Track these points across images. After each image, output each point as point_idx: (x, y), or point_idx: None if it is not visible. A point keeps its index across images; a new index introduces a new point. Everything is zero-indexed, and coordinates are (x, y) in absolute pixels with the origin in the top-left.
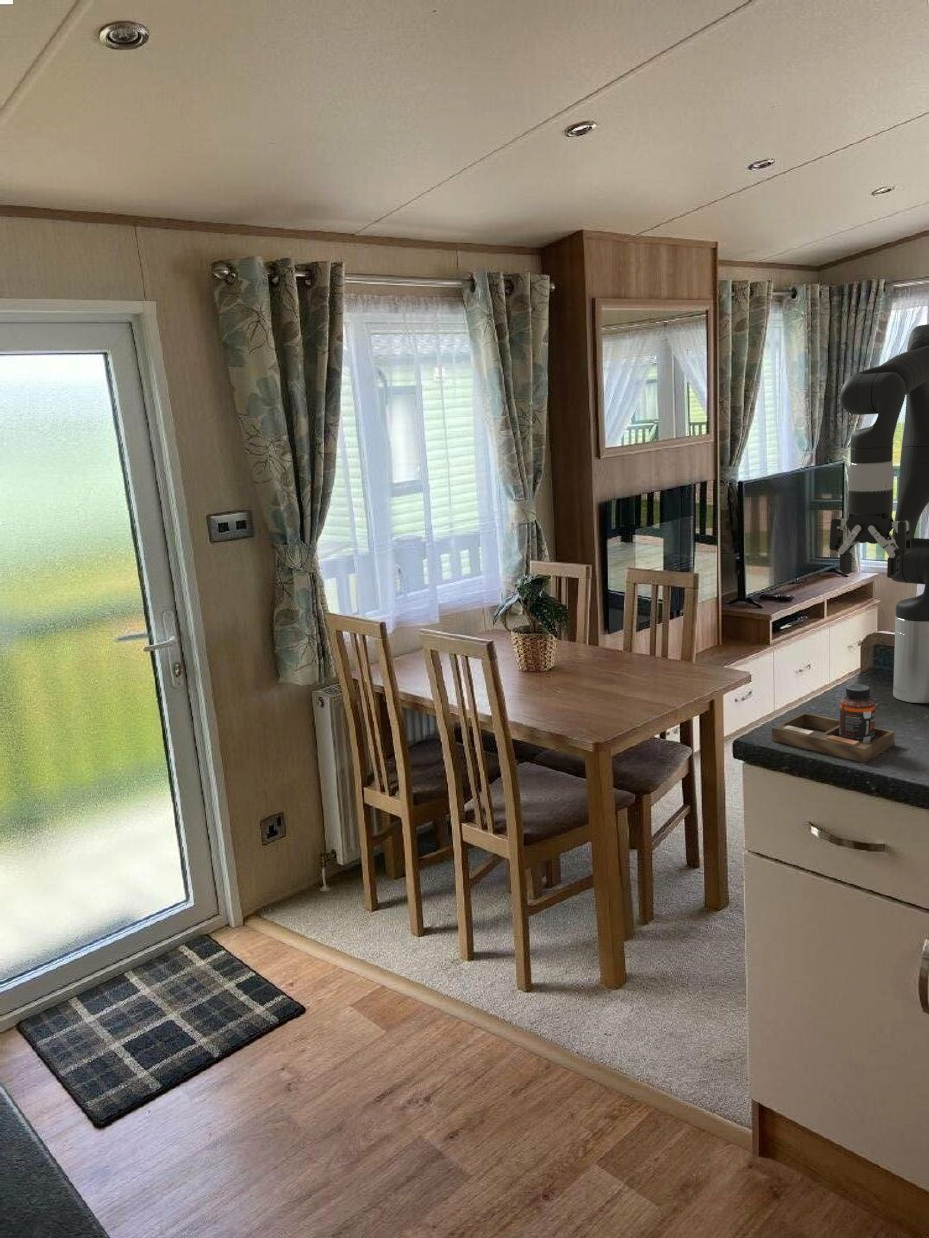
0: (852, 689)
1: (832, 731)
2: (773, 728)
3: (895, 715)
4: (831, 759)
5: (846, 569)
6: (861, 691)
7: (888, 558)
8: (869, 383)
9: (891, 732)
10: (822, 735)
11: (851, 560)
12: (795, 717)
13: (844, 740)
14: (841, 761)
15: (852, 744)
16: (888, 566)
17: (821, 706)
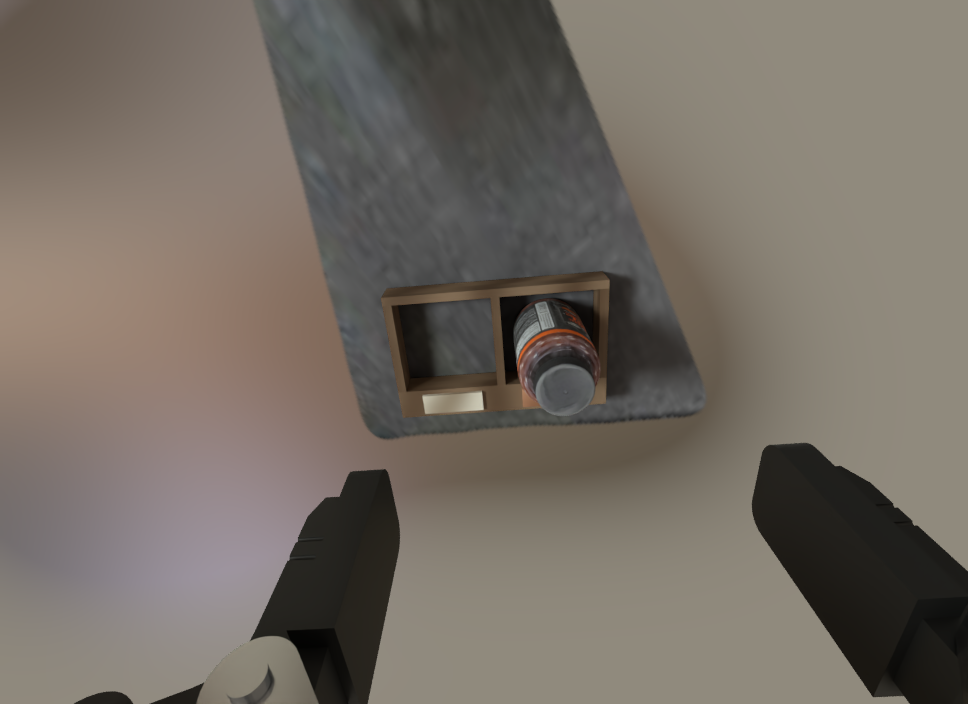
0: (564, 414)
1: (503, 358)
2: (406, 416)
3: (507, 67)
4: None
5: (391, 558)
6: (586, 406)
7: (880, 690)
8: None
9: (606, 289)
10: (504, 392)
11: (359, 551)
12: (393, 338)
13: None
14: None
15: None
16: (820, 603)
17: (323, 137)
